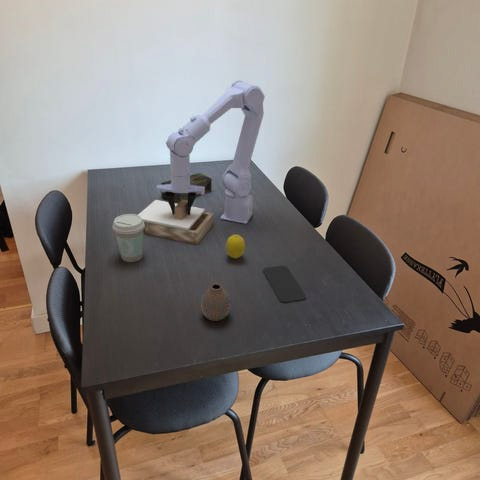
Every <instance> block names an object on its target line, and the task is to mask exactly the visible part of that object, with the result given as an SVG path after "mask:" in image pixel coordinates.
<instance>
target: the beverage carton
mask: <svg viewBox="0 0 480 480" xmlns="http://www.w3.org/2000/svg"><path fill="white" fill-rule="evenodd" d="M212 180H213V179H212V178H211V177H210V176H207V175H205V174H204V173H202V172H198V173H195V174H190V184H191V185H196V186H203V187H205V192H204V195H206V194H208V193H211V192H212V187H213V186H212V184H213V183H212V182H213V181H212ZM166 184H171V179H170V180H167V181H163V182H161V183H160V185H166ZM160 194H161V195H160V197H161V198H162V199H164V200H165V201H167V200H166V198H165V192H161V193H160ZM200 196H202V195H201V194H196V197H200ZM187 197H188V193H175V203H176V204H178V203H179V202H180V201H182V200H187V201H188V199H187Z"/></svg>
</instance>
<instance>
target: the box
mask: <svg viewBox="0 0 480 480" xmlns="http://www.w3.org/2000/svg"><path fill="white" fill-rule="evenodd" d="M144 224H145V227H144V229H143V230H144V234H147V235H150V236H155V237H160V238H165V239H170V240H175V241H178V242H185V243H189V244H193V245H199V243H200V242H201V241H202V239H203V238H204V237H205V236H206V234H207V233H208V232H209V230H210V229H211V228H212V226H213V225H214V213H213V212H207V211H204V213H203V214H202V215H201V216H200V217H199V218H198V220H197V221H196V222H195V223H194V224H193V225H192V227H191V228H190V229H189V230H183V229H178V228H173V227H168V226H163V225H158V224H153V223H148V222H144Z"/></svg>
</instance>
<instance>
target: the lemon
mask: <svg viewBox="0 0 480 480" xmlns="http://www.w3.org/2000/svg"><path fill="white" fill-rule="evenodd" d="M245 249H246V242H245V239H244V238H243V237H242V236H241V235H239V234H238V233H237V234H232V235H230V236H229V237H228V238H227V240H226V243H225V251H226V253H227V255H228V256H229V257H230V258H233V259H238V258H240V257H242V256H243V255H244V254H245Z"/></svg>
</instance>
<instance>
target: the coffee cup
mask: <svg viewBox="0 0 480 480" xmlns="http://www.w3.org/2000/svg"><path fill="white" fill-rule="evenodd" d="M144 227H145V224H144V221H143V220H142V218H141V217H140V216H139V215H138V214H135V213H124V214H121V215H118V216H117V217H115V218H114V220H113V224H112V231H113V232H114V234H115V237H116V238H115V239H116V242H117V245H118V250H119V253H120V257H121V260H123V261H124V262H126V263H134V262H135V263H136V262H138V261H139V260H141V259H142V258H143V253H144V252H143V251H144V250H143V249H144V247H143V246H144V230H145V229H144Z"/></svg>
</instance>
